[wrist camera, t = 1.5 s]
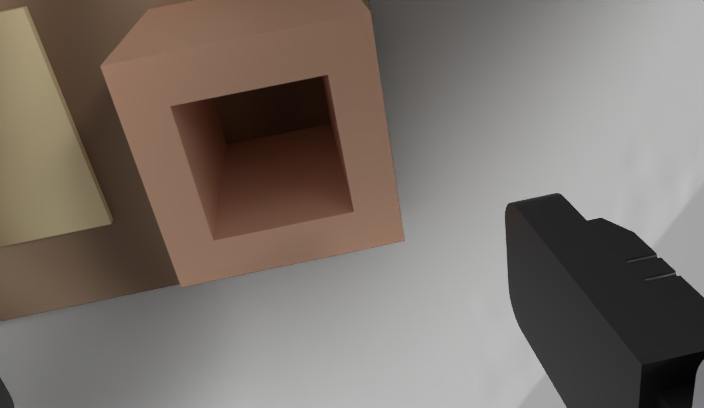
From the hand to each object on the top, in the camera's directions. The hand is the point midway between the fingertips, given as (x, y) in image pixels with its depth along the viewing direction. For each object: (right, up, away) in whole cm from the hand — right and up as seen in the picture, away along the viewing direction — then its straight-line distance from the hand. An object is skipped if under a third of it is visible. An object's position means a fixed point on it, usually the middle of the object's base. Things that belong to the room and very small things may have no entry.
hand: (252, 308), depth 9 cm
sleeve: (-1, +5, +10) cm, 11 cm away
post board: (-6, +5, +11) cm, 14 cm away
